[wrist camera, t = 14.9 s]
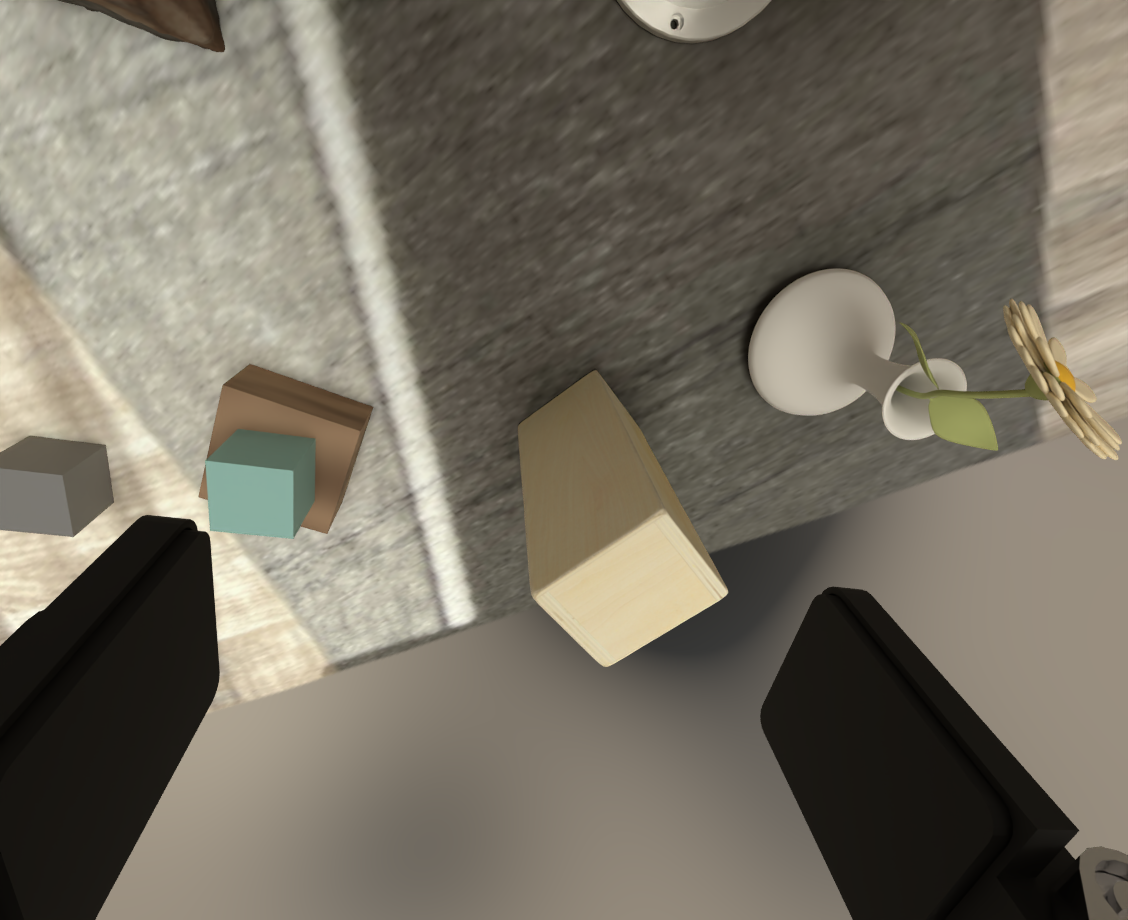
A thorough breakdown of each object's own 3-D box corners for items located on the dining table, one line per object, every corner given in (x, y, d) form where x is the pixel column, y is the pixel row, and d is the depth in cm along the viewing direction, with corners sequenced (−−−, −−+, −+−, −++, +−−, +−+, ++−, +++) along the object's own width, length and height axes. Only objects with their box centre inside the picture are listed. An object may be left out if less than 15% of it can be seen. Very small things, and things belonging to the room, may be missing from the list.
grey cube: (30, 435, 43) (-24, 465, 38) (106, 444, 44) (62, 475, 39) (42, 493, 45) (-8, 529, 41) (114, 501, 46) (73, 536, 41)
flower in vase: (894, 365, 48) (1244, 532, 25) (766, 431, 49) (992, 644, 27) (853, 214, 42) (1258, 259, 20) (711, 293, 44) (938, 418, 21)
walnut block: (251, 362, 42) (222, 384, 38) (373, 405, 45) (360, 431, 40) (227, 465, 46) (198, 497, 41) (342, 500, 48) (327, 533, 44)
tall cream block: (567, 488, 50) (611, 679, 31) (514, 426, 47) (527, 595, 28) (645, 435, 48) (741, 601, 29) (595, 367, 45) (667, 504, 26)
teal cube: (238, 428, 39) (205, 460, 35) (315, 438, 40) (293, 470, 36) (241, 492, 41) (210, 530, 37) (314, 500, 42) (293, 538, 38)
